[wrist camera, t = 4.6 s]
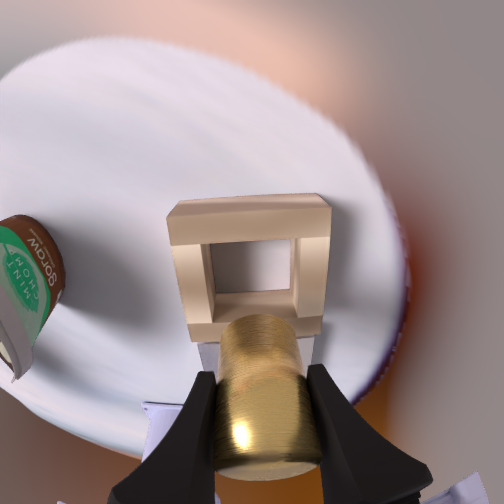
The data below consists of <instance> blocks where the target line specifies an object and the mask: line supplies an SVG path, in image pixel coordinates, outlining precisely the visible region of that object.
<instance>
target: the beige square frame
mask: <svg viewBox="0 0 504 504" xmlns="http://www.w3.org/2000/svg"><path fill="white" fill-rule="evenodd" d="M331 215H332V208H331V207H330V206H329V205H328V204H327V203H326V202H325V201H324V200H323V199H322V198H321V197H319V196H318V195H317V194H316V193H304V194H275V195H254V196H237V197H222V198H209V199H197V200H185V201H179V202H178V203H177V205H176V206H175V207H174V208H173V209H172V211H171V212H170V213H169V214H168V216H167V217H166V220H167V226H168V232H169V238H170V244H171V250H172V255H173V261H174V266H175V271H176V276H177V281H178V286H179V291H180V295H181V300H182V304H183V309H184V313H185V317H186V322H187V326H188V330H189V334H190V338H191V342H220V338H221V335H222V333H223V331H224V329H225V328H226V327H227V326H228V325H229V324H230V323H232V322H233V321H235V320H237V319H239V318H241V317H244V316H248V315H253V314H268V315H273V316H276V317H279V318H281V319H283V320H285V321H286V322H288V323H289V324H290V325H291V326H292V327H293V329H294V331H295V333H296V337H297V336H307V335H316V334H320V333H321V325H322V318H323V309H324V301H325V292H326V282H327V272H328V260H329V247H330V233H331ZM277 239H291V258H290V289H286V290H272V291H256V292H239V293H220V294H216V290H215V283H214V275H213V268H212V260H211V252H210V243H226V242H243V241H259V240H277Z"/></svg>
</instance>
